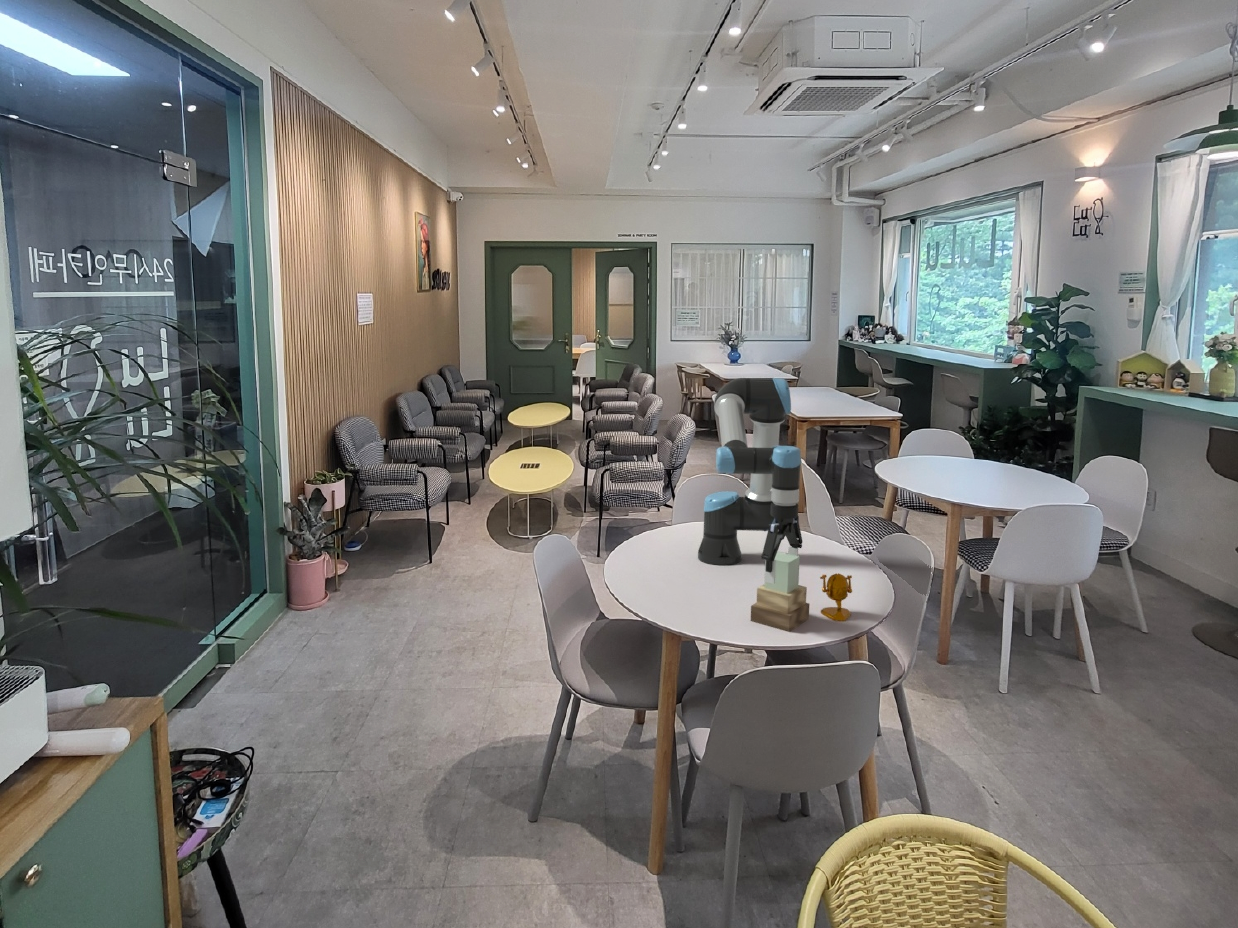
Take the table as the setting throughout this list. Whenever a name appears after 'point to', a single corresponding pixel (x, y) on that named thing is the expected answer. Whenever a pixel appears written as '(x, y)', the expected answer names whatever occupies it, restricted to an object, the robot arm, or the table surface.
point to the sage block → (785, 573)
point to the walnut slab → (779, 617)
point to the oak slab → (781, 599)
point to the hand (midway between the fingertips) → (781, 576)
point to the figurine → (837, 596)
